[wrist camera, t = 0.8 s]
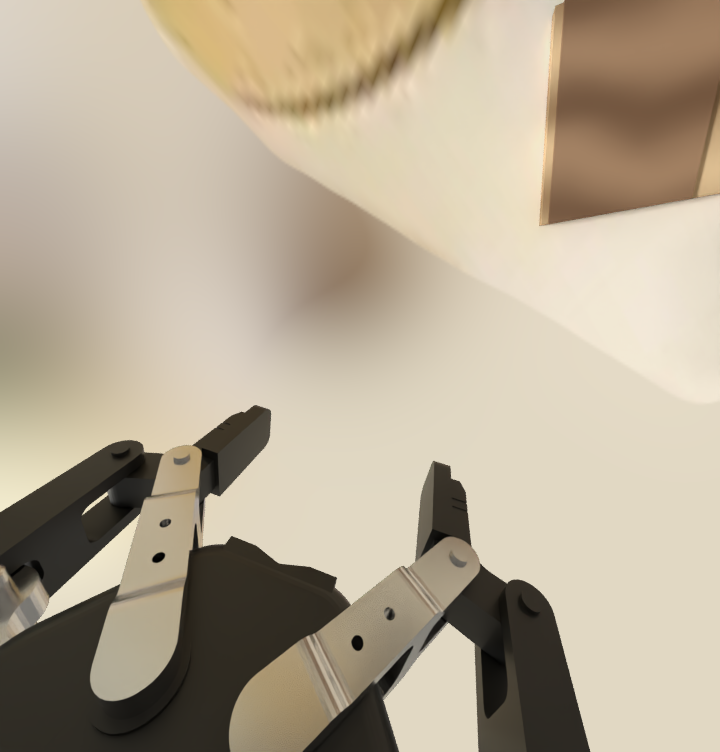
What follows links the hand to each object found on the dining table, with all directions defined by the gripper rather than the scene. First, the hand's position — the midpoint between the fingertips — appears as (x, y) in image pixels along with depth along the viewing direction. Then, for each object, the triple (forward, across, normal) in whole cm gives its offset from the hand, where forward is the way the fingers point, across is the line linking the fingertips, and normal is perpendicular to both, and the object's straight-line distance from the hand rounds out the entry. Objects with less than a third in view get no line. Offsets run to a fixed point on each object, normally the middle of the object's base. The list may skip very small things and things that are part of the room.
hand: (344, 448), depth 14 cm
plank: (+21, -14, -22) cm, 34 cm away
